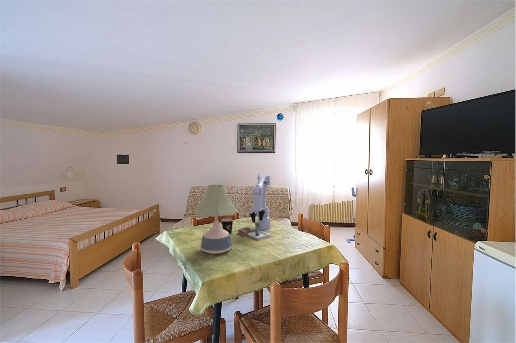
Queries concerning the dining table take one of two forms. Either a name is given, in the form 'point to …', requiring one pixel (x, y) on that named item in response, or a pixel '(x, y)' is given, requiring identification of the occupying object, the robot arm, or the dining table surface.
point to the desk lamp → (216, 219)
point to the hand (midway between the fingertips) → (257, 221)
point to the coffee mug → (227, 225)
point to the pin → (257, 228)
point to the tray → (261, 236)
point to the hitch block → (245, 231)
